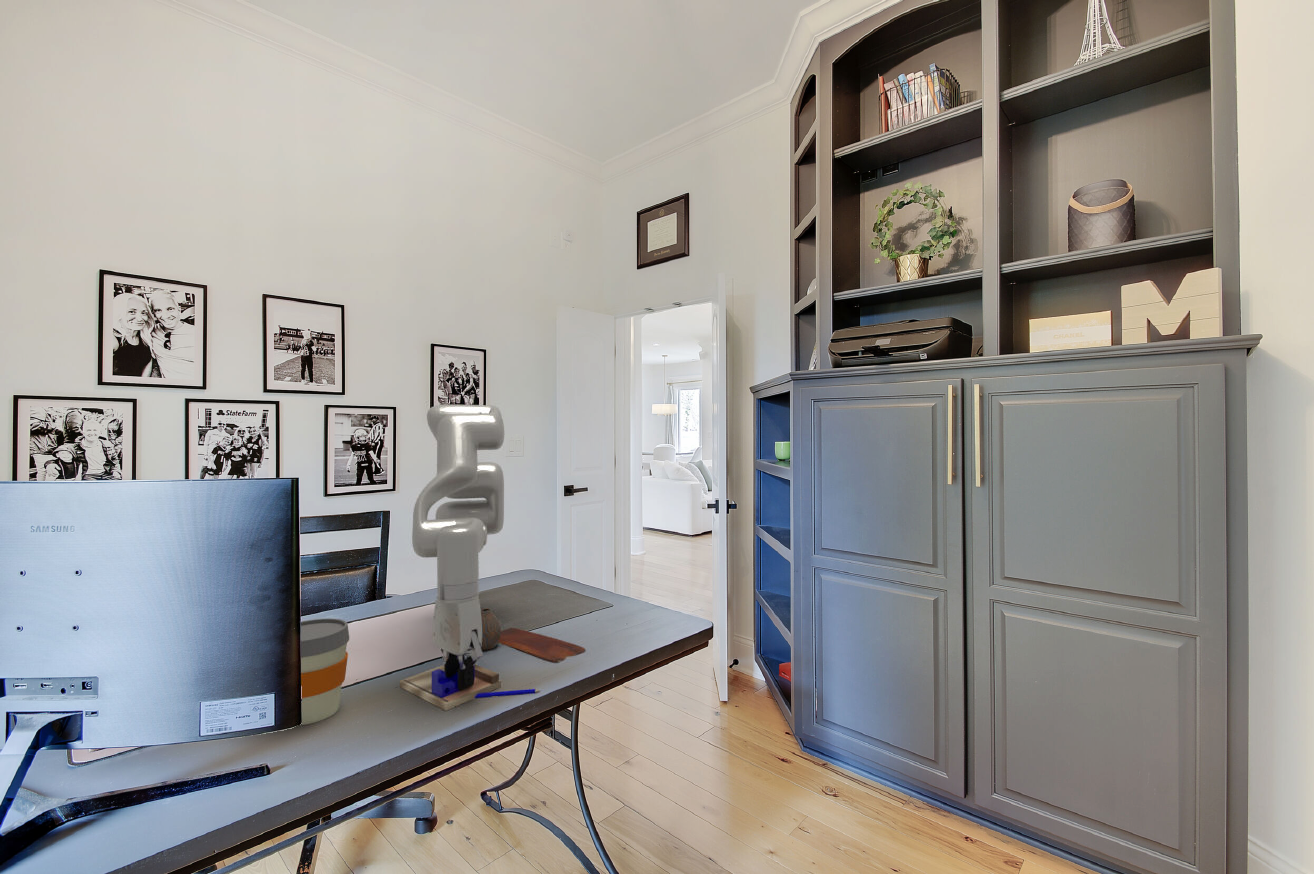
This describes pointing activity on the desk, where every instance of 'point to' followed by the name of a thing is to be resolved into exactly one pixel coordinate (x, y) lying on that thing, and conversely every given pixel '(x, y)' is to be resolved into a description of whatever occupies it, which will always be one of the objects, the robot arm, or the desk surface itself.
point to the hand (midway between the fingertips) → (459, 683)
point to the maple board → (423, 689)
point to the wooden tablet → (539, 645)
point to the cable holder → (444, 683)
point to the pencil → (507, 693)
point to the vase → (489, 629)
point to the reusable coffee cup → (322, 667)
